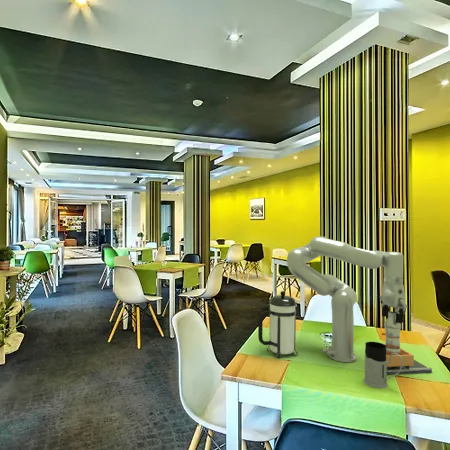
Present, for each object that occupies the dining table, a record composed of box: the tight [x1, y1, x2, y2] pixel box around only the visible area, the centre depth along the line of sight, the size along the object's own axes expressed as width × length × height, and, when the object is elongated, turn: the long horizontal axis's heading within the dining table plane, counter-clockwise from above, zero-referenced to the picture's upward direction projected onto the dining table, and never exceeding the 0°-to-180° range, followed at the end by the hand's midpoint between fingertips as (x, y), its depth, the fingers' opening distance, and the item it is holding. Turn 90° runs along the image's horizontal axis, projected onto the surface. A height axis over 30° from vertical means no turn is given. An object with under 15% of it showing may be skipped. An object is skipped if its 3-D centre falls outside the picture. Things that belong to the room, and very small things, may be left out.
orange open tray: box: [386, 347, 415, 369], centre depth 145 cm, size 12×12×6 cm
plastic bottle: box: [383, 310, 402, 356], centre depth 145 cm, size 6×7×20 cm
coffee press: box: [257, 290, 299, 359], centre depth 159 cm, size 17×16×30 cm
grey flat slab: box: [387, 359, 433, 376], centre depth 146 cm, size 20×13×2 cm, turn 97°
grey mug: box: [363, 341, 403, 389], centre depth 129 cm, size 9×14×15 cm, turn 43°
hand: (392, 319), depth 145 cm, fingers open, 9 cm apart
